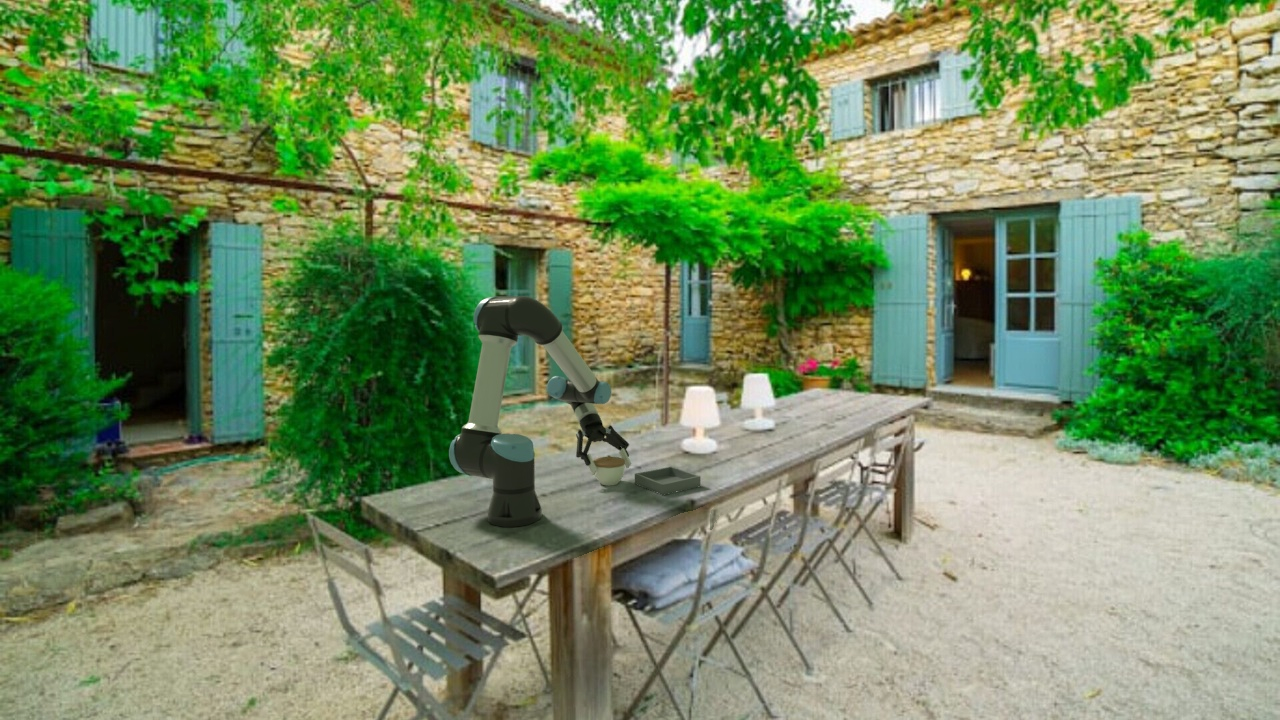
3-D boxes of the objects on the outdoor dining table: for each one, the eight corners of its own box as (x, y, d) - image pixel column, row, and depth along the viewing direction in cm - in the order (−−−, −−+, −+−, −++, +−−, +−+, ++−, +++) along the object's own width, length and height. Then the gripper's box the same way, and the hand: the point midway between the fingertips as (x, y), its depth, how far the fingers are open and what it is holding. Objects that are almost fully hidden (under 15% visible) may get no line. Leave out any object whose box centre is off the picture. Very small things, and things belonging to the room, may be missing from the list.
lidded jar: (626, 478, 216) (626, 452, 215) (623, 487, 205) (622, 460, 204) (596, 478, 217) (595, 451, 216) (590, 487, 206) (590, 459, 206)
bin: (662, 495, 197) (662, 484, 197) (634, 483, 210) (634, 473, 209) (700, 486, 206) (700, 476, 206) (671, 476, 219) (671, 466, 218)
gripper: (614, 420, 230) (638, 469, 219) (553, 429, 215) (576, 481, 205) (622, 408, 225) (646, 457, 214) (560, 416, 211) (583, 469, 200)
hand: (612, 469), depth 209 cm, fingers open, 13 cm apart
